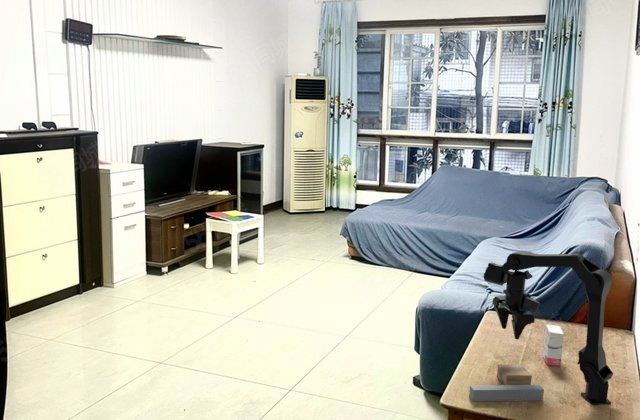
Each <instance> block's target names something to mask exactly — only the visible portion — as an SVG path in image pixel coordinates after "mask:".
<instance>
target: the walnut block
mask: <svg viewBox="0 0 640 420" xmlns="http://www.w3.org/2000/svg"><path fill="white" fill-rule="evenodd" d="M497 377H498V378H497ZM496 378H497V379H498V380H499V381H500V383H501V382H502V383H501V385H532V380H533V379H532V378H533V377H532V374H531V373H530V371H528V370H527V369H526V367H525V366H524V365H523V364H505V363H504V364H497V372H496Z"/></svg>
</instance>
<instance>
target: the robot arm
mask: <svg viewBox="0 0 640 420" xmlns="http://www.w3.org/2000/svg"><path fill="white" fill-rule="evenodd" d="M533 268H571V269H572V270H573V271H574V273H575V275H577V277H578V278H579V279H580V280H581V281H582V282H583V283H584V290H585V294H586V297H587V299H588V309H587V323H586V324H587V326H586V329H587V330H586V342H585V343H586V344H585V345H584V347H583V348H581V349H580V350H578V353H577V354H578V362H577V365H579V370H580V372H581V373H582V374H583V379H584V381H585V383H586V384H585V392H580V395H581V396H582V397H583V398H584V400H586V401H587V402H588V403H589V404H591V405H611V404H612V401H610V400H609V399H608V393H609V385H610V384H609V380H610V379H612V377H613V375H614V372H613V371H612V369H611V368H610V367H609V366H608V363H607V356H606V352H605V350H604V347H603V346H604V345H603V340H604V339H603V338H604V322H605V321H604V320H605V309H606V308H605V306H606V300H607V298H608V295H609V291H610V289H611V285H612V280H613V279H612V275H611V274H610V273H609V272H608V271H607V270H604V269H602V268H601V267H600V266H598V264H595V263H594V262H593V261H590V260H589V259H588V258H586V257H585V256H584V255H583V254H581V253H579V252H577V253H563V254H562V253H553V254H551V253H549V254H548V253H547V254H545V253H543V254H541V253H540V254H539V253H534V252H531V251H526V250H518V251H516V252H515V251H514V252H512V253H510V254H509V255H508V256H507V257H506V261H505V262H504V263H503V264H498V263H495V262H492V261H491V262H488V264H487V267H486V269H485V271H484V273H483V280H484V282H486V283H490V284H492V285H496V286H504V284H506V287H505V289H503V290H502V291H503V292H502V293H503V294H505V296H497V295H496V296H494V297H493V298H492V302H491V303H492V305H493V308H494V309H495V312H496V315H497V317H498V320H499V323H500V325H501V329H504V330H506V329H507V325H508V320H509V316H510V313H511V312H512V313H511V318H512V319H511V325H512V331H513V332H512V333H513V336H514V339H515V340H519V339H520V337H521V336H522V333H523V331H524V329H525V328H526V326H528V325H531V324H534V323H535V322H536V321H535V320H536V316H535V314H533V313H532V312H530V311H529V310H531V311H533V312H535V313H536V312H537V311H538V309H539V307H540V305H541V303H540V302H539V301H537V300H536V299H534V298H532V295H531V294H530V293H528V292H525V287H526V280H529V279H532V278H533V274H531V272H530V271H529V269H533ZM527 269H528V270H527ZM522 270H524V271H522ZM527 309H529V310H527Z"/></svg>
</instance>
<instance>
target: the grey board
mask: <svg viewBox="0 0 640 420" xmlns="http://www.w3.org/2000/svg"><path fill="white" fill-rule="evenodd" d="M468 392H469V395H468V397H469V398H470V400H471V402H500V401H501V402H502V401H503V402H504V401H506V402H508V401H512V402H513V401H516V402H517V401H543V400H544V392H545V390H544V388H543V387H542V386H541V385H540V384H531V385H503V384H501V385H500V384H497V385H496V384H489V385H488V384H485V385H484V384H483V385H482V384H481V385H477V384H476V385H469V391H468Z"/></svg>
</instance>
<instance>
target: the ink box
mask: <svg viewBox="0 0 640 420" xmlns="http://www.w3.org/2000/svg"><path fill="white" fill-rule="evenodd" d="M564 336H565V334H564V332H563V330H562V327H560V325H553V324H546V325H545V333H544V338H543V339H544V342H543V350H542V357H543V359H544V361H545V364H546V365H547V366H556V367H561V363H562V354H563V347H564V346H563V344H564Z"/></svg>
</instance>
